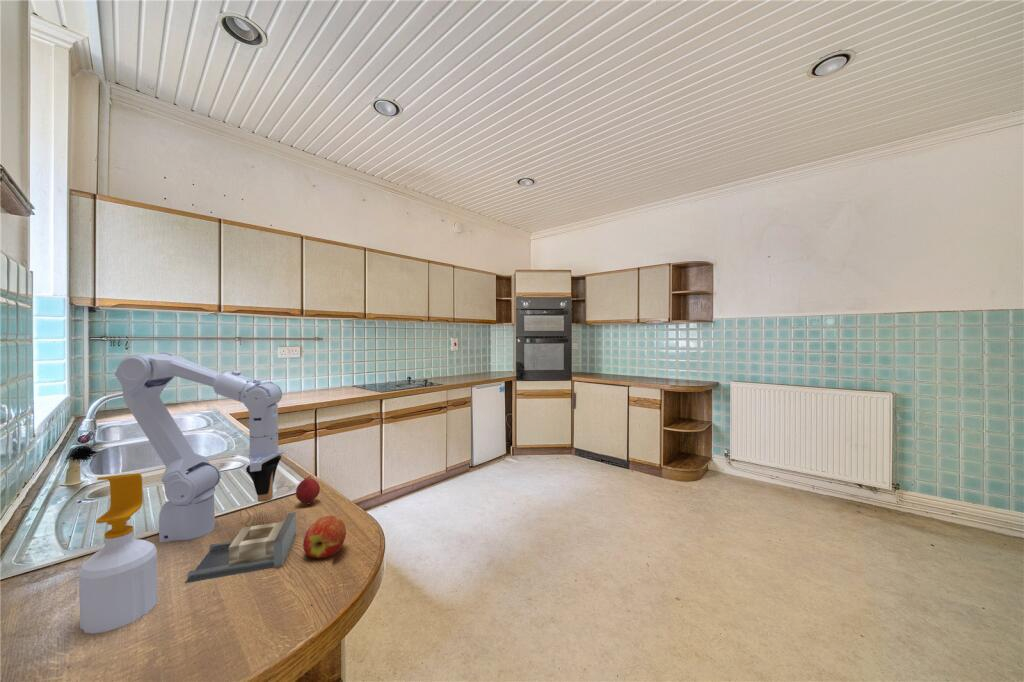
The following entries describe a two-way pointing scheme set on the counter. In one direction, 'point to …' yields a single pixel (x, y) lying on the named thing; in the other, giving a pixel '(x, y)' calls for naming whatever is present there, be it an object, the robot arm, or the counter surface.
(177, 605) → the counter surface
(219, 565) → the slide base
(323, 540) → the apple
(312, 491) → the onion
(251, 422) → the robot arm
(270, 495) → the dowel
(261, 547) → the sliding block
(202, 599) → the counter surface
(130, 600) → the soap bottle
